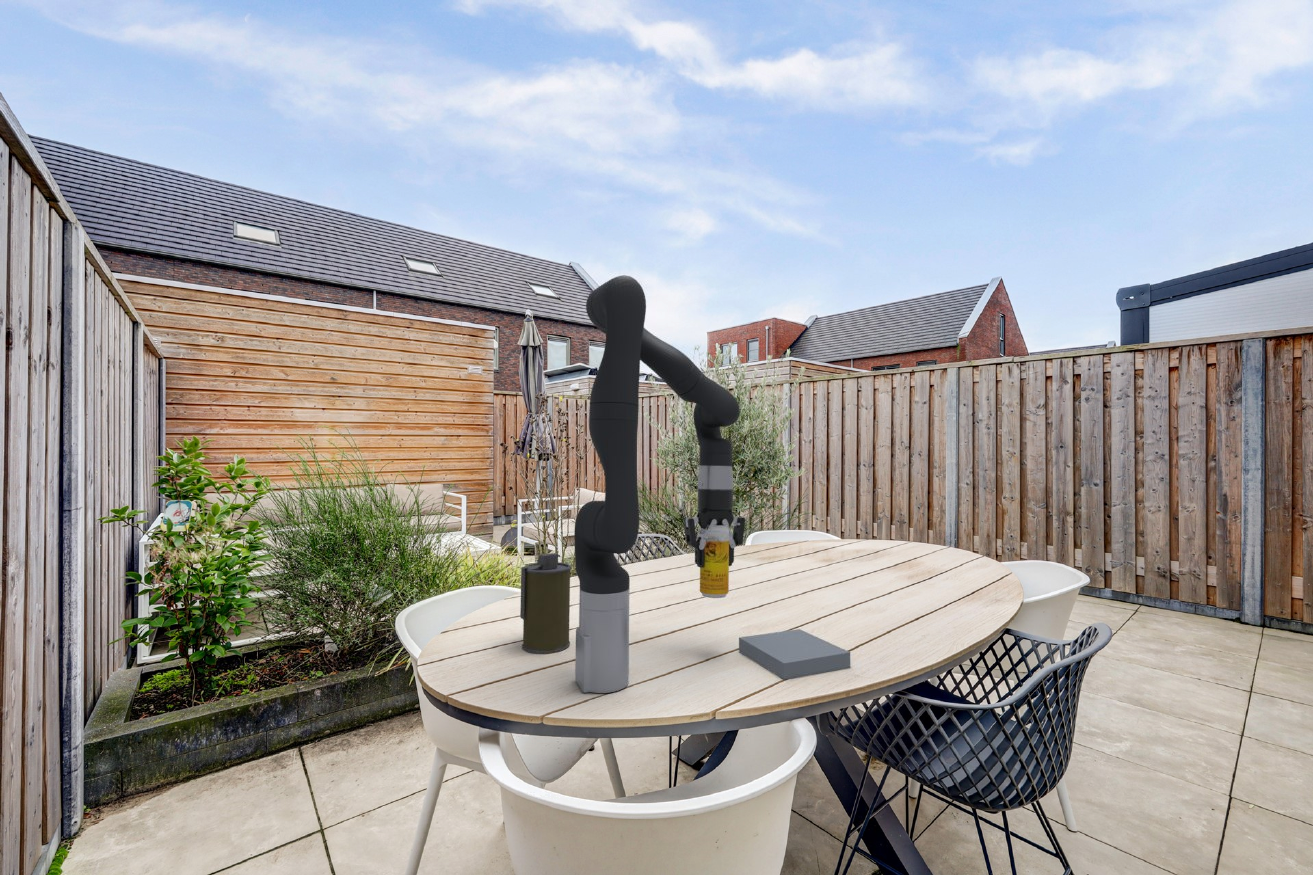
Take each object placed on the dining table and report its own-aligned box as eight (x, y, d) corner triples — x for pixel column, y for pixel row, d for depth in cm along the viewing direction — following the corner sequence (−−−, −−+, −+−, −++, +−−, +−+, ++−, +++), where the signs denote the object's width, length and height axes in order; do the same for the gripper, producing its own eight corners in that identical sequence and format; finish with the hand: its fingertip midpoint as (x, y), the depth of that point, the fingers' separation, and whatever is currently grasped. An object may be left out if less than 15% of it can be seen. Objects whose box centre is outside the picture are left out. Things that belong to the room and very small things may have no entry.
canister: (559, 635, 124) (560, 549, 125) (577, 648, 116) (579, 555, 117) (513, 643, 119) (515, 553, 120) (529, 657, 110) (531, 560, 111)
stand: (784, 679, 100) (784, 663, 100) (738, 651, 114) (738, 637, 115) (850, 667, 106) (850, 652, 106) (799, 642, 121) (799, 628, 121)
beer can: (697, 597, 110) (698, 524, 111) (702, 591, 116) (703, 522, 117) (726, 599, 109) (727, 526, 110) (729, 593, 115) (730, 523, 116)
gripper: (693, 487, 108) (692, 571, 107) (753, 488, 113) (753, 567, 112) (677, 486, 115) (676, 565, 114) (735, 486, 120) (734, 561, 119)
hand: (714, 565), depth 113 cm, fingers closed on beer can, 6 cm apart
